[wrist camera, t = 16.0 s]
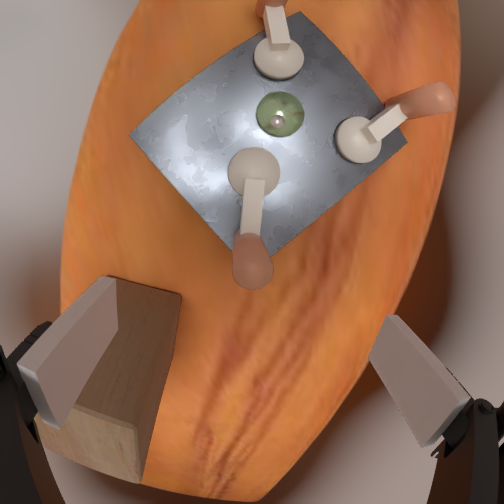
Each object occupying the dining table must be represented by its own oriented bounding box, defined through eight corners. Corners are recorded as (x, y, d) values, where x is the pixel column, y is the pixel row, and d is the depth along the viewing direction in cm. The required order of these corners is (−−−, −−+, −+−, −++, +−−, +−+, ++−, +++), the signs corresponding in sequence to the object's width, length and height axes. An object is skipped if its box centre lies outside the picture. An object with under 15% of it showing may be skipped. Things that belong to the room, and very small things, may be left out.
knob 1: (230, 145, 26) (228, 134, 17) (280, 150, 26) (301, 141, 18) (222, 252, 29) (217, 287, 20) (269, 255, 30) (284, 291, 21)
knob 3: (353, 171, 27) (398, 175, 19) (325, 134, 26) (363, 121, 18) (414, 121, 26) (464, 113, 17) (391, 86, 25) (437, 67, 16)
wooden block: (105, 338, 33) (41, 446, 14) (106, 273, 31) (7, 374, 11) (172, 357, 34) (140, 486, 15) (182, 293, 32) (135, 431, 13)
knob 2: (304, 79, 24) (332, 46, 16) (256, 80, 24) (266, 45, 16) (289, 1, 21) (306, -43, 12) (245, 2, 21) (249, -45, 12)
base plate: (297, 15, 23) (302, 6, 21) (402, 142, 28) (412, 141, 26) (132, 136, 26) (125, 133, 24) (250, 268, 31) (251, 276, 29)
